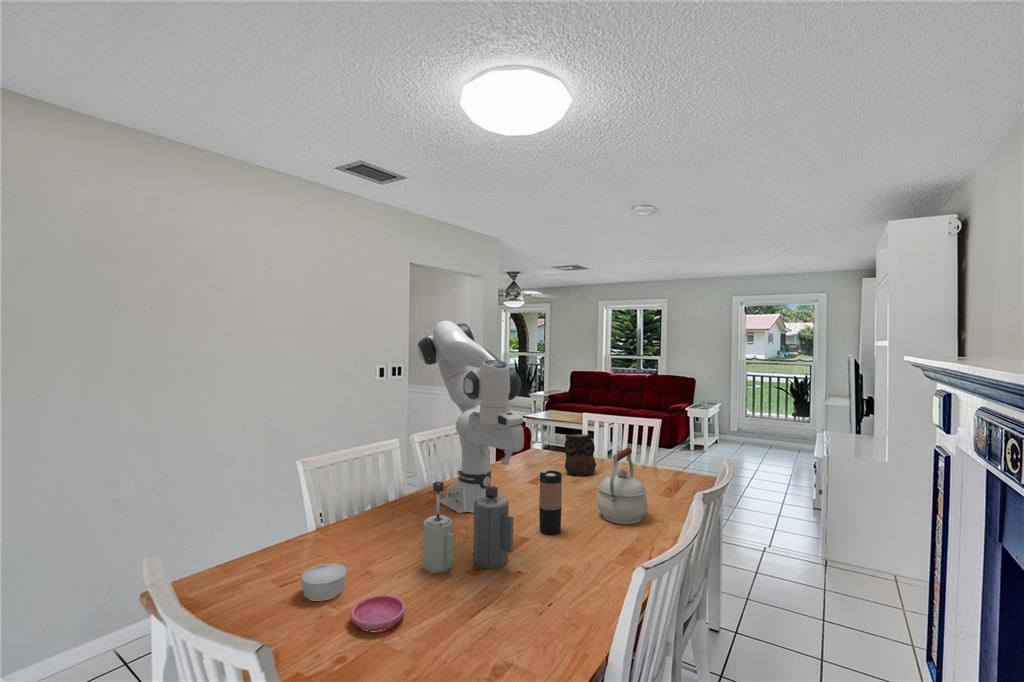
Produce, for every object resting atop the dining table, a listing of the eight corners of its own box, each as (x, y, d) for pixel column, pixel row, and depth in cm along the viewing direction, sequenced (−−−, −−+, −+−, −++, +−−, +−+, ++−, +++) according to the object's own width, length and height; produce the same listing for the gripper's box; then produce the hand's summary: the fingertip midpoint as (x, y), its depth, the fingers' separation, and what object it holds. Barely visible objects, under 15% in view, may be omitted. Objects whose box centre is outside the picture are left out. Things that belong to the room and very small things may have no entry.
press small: (417, 567, 142) (418, 519, 142) (438, 557, 149) (439, 512, 148) (441, 578, 136) (442, 529, 136) (462, 568, 142) (463, 520, 142)
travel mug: (560, 536, 165) (560, 477, 165) (537, 534, 167) (538, 475, 167) (562, 528, 173) (563, 471, 173) (540, 526, 174) (541, 469, 174)
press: (466, 561, 146) (466, 500, 146) (490, 550, 154) (491, 491, 154) (499, 576, 138) (499, 510, 138) (522, 563, 146) (523, 501, 146)
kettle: (636, 532, 170) (637, 460, 169) (587, 521, 179) (587, 453, 179) (657, 511, 191) (657, 447, 190) (611, 502, 200) (612, 441, 200)
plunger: (482, 532, 147) (483, 488, 147) (490, 528, 149) (491, 485, 149) (491, 535, 144) (492, 490, 144) (499, 532, 147) (500, 488, 147)
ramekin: (332, 578, 136) (332, 559, 136) (355, 592, 129) (355, 571, 129) (292, 594, 127) (292, 573, 127) (315, 610, 120) (315, 588, 120)
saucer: (409, 606, 122) (409, 593, 122) (399, 637, 110) (399, 623, 110) (358, 606, 122) (359, 594, 122) (343, 637, 109) (343, 623, 109)
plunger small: (430, 517, 143) (431, 483, 142) (438, 514, 145) (438, 481, 145) (437, 520, 141) (437, 485, 141) (445, 517, 143) (445, 483, 143)
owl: (597, 475, 239) (597, 434, 238) (578, 479, 231) (578, 437, 231) (579, 469, 249) (579, 430, 249) (560, 473, 242) (560, 432, 241)
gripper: (462, 412, 151) (461, 457, 151) (513, 421, 138) (512, 470, 138) (476, 409, 156) (475, 453, 156) (527, 418, 143) (526, 466, 143)
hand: (493, 461), depth 147 cm, fingers open, 8 cm apart
